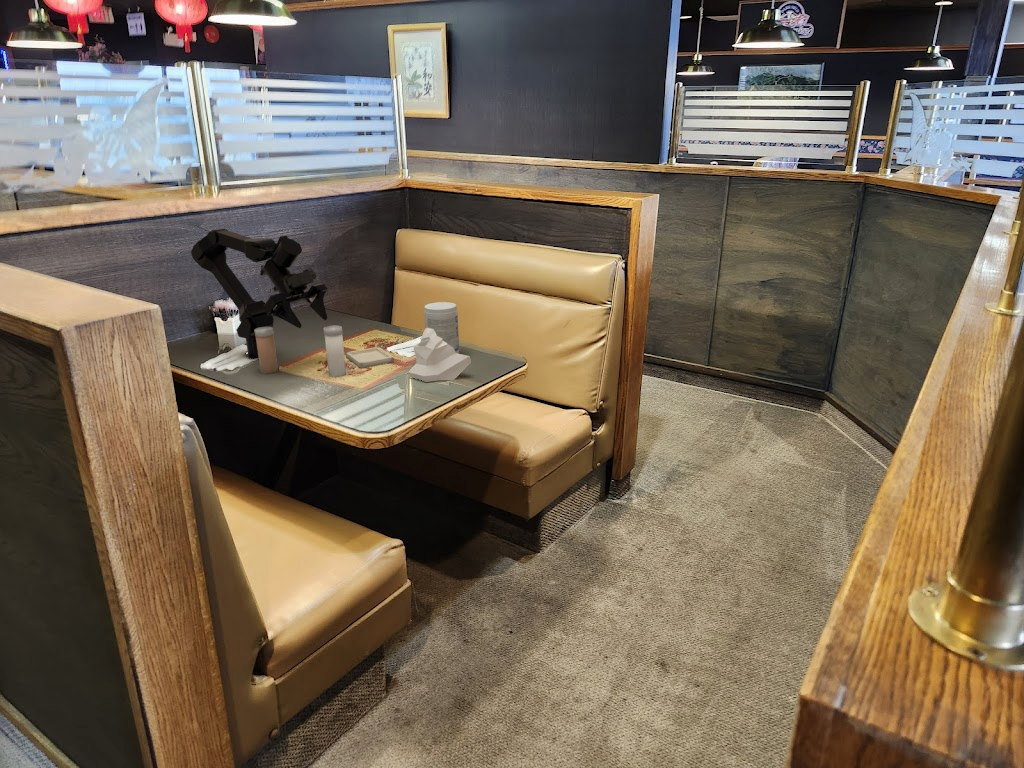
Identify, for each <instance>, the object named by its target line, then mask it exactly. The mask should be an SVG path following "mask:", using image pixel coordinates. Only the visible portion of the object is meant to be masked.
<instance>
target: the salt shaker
mask: <svg viewBox="0 0 1024 768" xmlns="http://www.w3.org/2000/svg"><path fill="white" fill-rule="evenodd" d="M323 335H324V340H325V341H324V343H325V352H326V361H327V372H328V376H330V377H331V378H333V377H334V378H335V377H342V376H345V375H347V369H346V359H345V358H346V356H345V348H344V347H345V346H344V340H343V339H344V338H343V326H341V325H334V324H333V325H328V326H324V327H323Z"/></svg>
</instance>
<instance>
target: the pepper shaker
mask: <svg viewBox="0 0 1024 768" xmlns="http://www.w3.org/2000/svg"><path fill="white" fill-rule="evenodd" d="M255 336H256V342H257V349H258V356H259V357H258V362H259V371H260V373H261V374H265V373H269V374H274V373H277V372H279V367H278V366H279V365H278V359H277V351H276V343H275V337H274V336H275V335H274V327H273V328H272V327H259V328H256V329H255ZM276 371H277V372H276ZM273 372H274V373H273ZM265 375H266V374H265Z"/></svg>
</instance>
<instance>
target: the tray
mask: <svg viewBox="0 0 1024 768" xmlns="http://www.w3.org/2000/svg"><path fill="white" fill-rule="evenodd" d="M345 358H346V359H348V360H349V361H350V362H352V363H353V364H354V365H356V366H357V367H358V368H359V369H365V368H370V366H371V367H376V366H380V364H381V365H386V364H385V363H387V364H392V363H395V357H394V356H393V355H391V354H390V353H388V352H387V351H385V350H384V349H382V348H381V347H380V346H374V347H370V348H363V349H358V350H357V349H356V350H353V351H347V352H345ZM391 362H392V363H391ZM375 365H376V366H375Z"/></svg>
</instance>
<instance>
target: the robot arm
mask: <svg viewBox="0 0 1024 768" xmlns="http://www.w3.org/2000/svg"><path fill="white" fill-rule="evenodd" d="M228 249H231V250H233V251H237V252H239V253H243V254H244V255H245V258H246V259H248V260H250V261H251V262H253V263H261V262H265V263H264V264H261V266H260V271H259V272H260V273H259V274H260V276H267V277H268V278H269V280H270V282H271V283H272V284H273V285H274V287H273V291H274V292H275V294H271V295H270V296H269V297H268V299H267V300H266V302H265V301H264V300H259V301H256V300H255V299H253V297H252V296H251V294H250V293H249V292H248V291H247V289H246V287H245V286H244V285H243V284H242V282H241V281H240V279H239V278H238V277H237V276H236V274H235V273H234V271H233V270H232V269H231V268H230V266H229V265H228V263H227V253H226V251H227V250H228ZM302 252H303V248H302V246H301V244H300V243H299V242H297V241H296V240H295V239H292V238H289V237H288V236H287V235H282V236H281V235H280V236H279V237H278V240H277V241H275V240H274V239H273V238H263V237H260V238H255V237H254V238H252V237H249V236H245V235H243V234H241V233H237V232H233V231H230V230H228V229H226V228H216V229H212V230H210V231H209V232H208V233H207V234H206V235H205V236H203V237H202V238H201V239H200V240H198V241H197V242H196V243H195V244H194V245H193V247H192V249H191V251H190V253H191V257H192V259H193V260H194V261H195V263H197V265H199V267H200V268H202V269H204V270H205V271H208V272H210V273H212V275H213V277H215V279H216V281H217V282H218V283H219V284H220V286H221V288H223V290H224V292H225V293H226V294H227V295H228V296H229V298H230V299H231V300H232V303H233V304H234V305H235V307H236V308H237V309H238V319H239V321H240V323H239V325H238V326H237V329H236V334H237V337H239V338H243V339H245V342H246V344H245V345H246V350H247V351H248V354H247V355H246V357H247V356H248V357H249V358H251V359H256V358H259V356H258V349H257V342H256V336H255V329H256V328H259V327H272V328H273V329H274V317H277V318H279V319H281V320H283V321H286V322H287V323H289V324H290V325H292V326H294V327H296V328H298V329H301V328H302V326H303V325H302V323H301V321H300V319H298V317H297V315H296V314H295V312H294V310H293V309H292V306H291V304H295V303H298V302H301V301H304V300H306V302H307V303H309V307H310V309H312V310H313V311H314V312H315V313H316V314H317V315H318V316H319V317H320V318H321V319H322V320H324V321H327V320H328V315H327V311H326V308H325V307H326V306H325V302H324V300H325V299H324V298H325V296H326V295H327V292H328V291H329V288H328V287H327V286H326V284H325V283H317V284H314V285H311V286H310V288H308V285H309V284H311V283H314V282H315V281H314V280H315V279H317V274H316V272H315V271H314V270H313V268H312V267H309V268H306V269H304V270H303V271H301V272H298V273H296V272H295V273H292V272H291V270H290V269H289V268H292V266H293V265H294V264H295V262H296V261H297V259H298V258H300V257H299V256H300V255H301V254H302ZM307 288H308V291H305V290H307ZM276 292H278V293H276ZM247 351H246V352H247ZM248 357H247V358H248ZM249 358H248V359H249Z"/></svg>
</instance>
